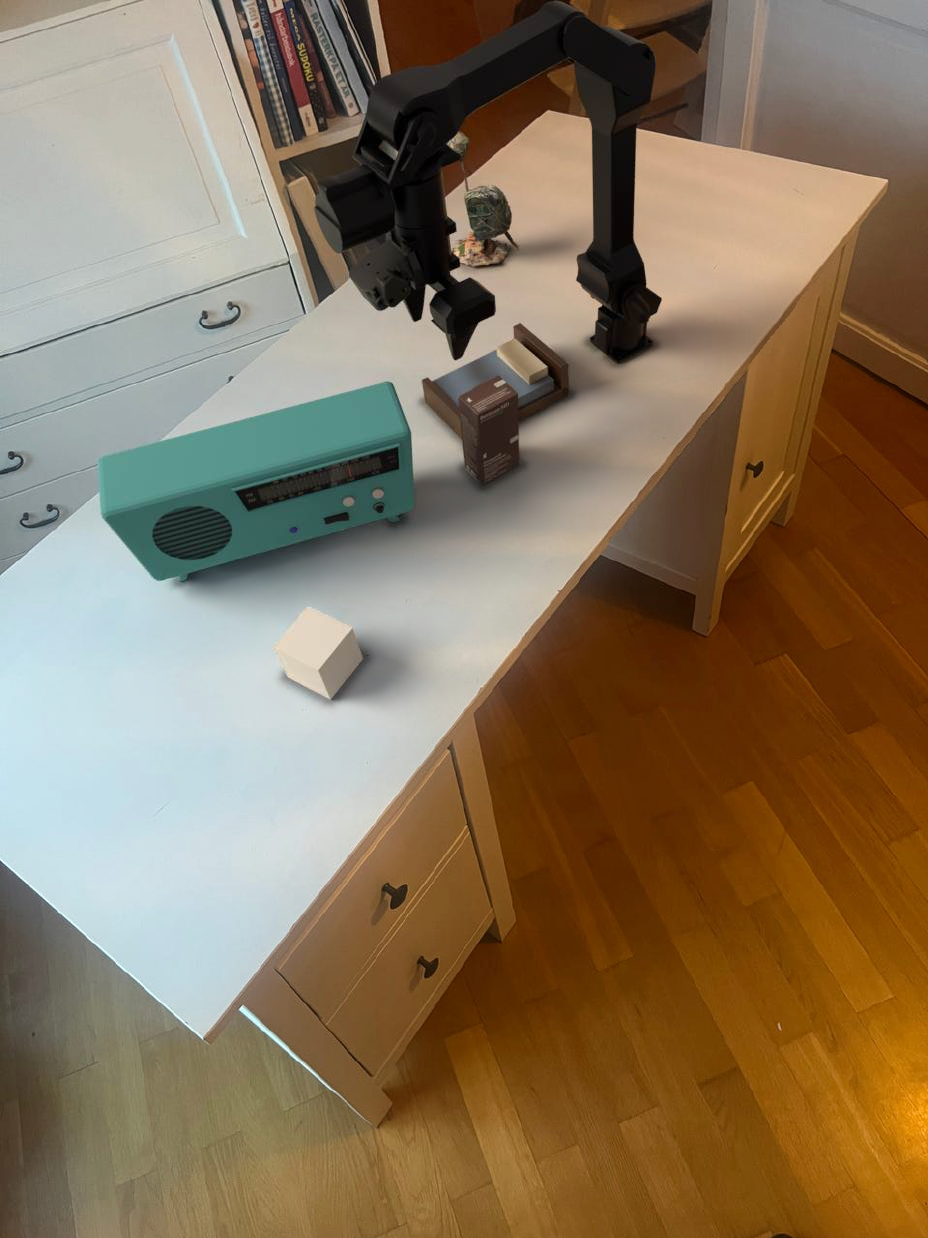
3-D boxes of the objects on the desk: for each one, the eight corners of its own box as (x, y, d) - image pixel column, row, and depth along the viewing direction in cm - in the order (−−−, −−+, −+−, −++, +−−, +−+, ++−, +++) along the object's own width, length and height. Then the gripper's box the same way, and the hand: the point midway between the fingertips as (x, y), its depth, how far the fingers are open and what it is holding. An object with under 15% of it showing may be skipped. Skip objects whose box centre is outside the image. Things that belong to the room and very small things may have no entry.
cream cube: (330, 700, 94) (317, 670, 90) (287, 677, 97) (272, 647, 92) (363, 658, 97) (352, 627, 92) (320, 636, 99) (307, 605, 94)
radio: (153, 606, 104) (98, 521, 92) (147, 542, 110) (95, 455, 98) (430, 528, 107) (413, 436, 95) (410, 470, 113) (391, 376, 101)
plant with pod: (500, 280, 135) (491, 148, 118) (441, 259, 139) (424, 129, 123) (529, 252, 138) (525, 120, 122) (471, 233, 143) (459, 103, 126)
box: (484, 488, 110) (476, 415, 100) (464, 468, 112) (454, 394, 103) (523, 466, 112) (519, 391, 102) (502, 446, 114) (496, 371, 104)
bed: (521, 353, 124) (520, 322, 120) (568, 394, 118) (568, 363, 114) (425, 402, 120) (420, 371, 116) (468, 447, 115) (465, 416, 110)
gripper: (311, 205, 95) (341, 328, 108) (397, 285, 85) (419, 410, 98) (400, 168, 98) (418, 291, 110) (493, 241, 88) (502, 368, 100)
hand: (437, 338), depth 105 cm, fingers open, 9 cm apart
